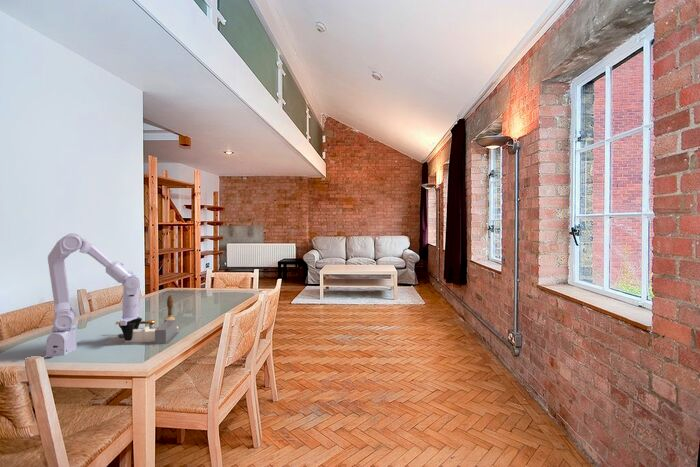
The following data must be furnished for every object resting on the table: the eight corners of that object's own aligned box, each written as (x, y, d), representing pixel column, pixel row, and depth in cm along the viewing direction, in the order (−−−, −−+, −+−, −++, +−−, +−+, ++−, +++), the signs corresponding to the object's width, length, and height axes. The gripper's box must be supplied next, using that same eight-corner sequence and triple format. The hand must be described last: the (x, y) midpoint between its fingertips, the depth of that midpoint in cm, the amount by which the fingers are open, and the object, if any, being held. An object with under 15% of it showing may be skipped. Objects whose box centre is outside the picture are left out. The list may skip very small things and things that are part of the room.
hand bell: (183, 329, 170) (184, 294, 169) (166, 334, 162) (167, 297, 162) (172, 326, 174) (172, 292, 173) (155, 330, 167) (155, 295, 166)
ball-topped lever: (114, 324, 156) (114, 322, 156) (117, 323, 158) (117, 320, 158) (153, 323, 158) (153, 321, 158) (155, 322, 161) (155, 319, 161)
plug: (162, 341, 150) (162, 328, 149) (116, 342, 147) (117, 329, 147) (166, 338, 154) (166, 325, 154) (121, 339, 151) (121, 326, 151)
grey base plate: (168, 345, 147) (168, 329, 147) (102, 347, 143) (102, 331, 143) (179, 333, 163) (179, 319, 162) (120, 335, 159) (120, 320, 158)
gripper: (134, 309, 143) (134, 343, 143) (148, 301, 157) (148, 332, 157) (114, 309, 142) (114, 344, 142) (130, 301, 156) (130, 333, 156)
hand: (130, 338), depth 150 cm, fingers closed on plug, 4 cm apart
